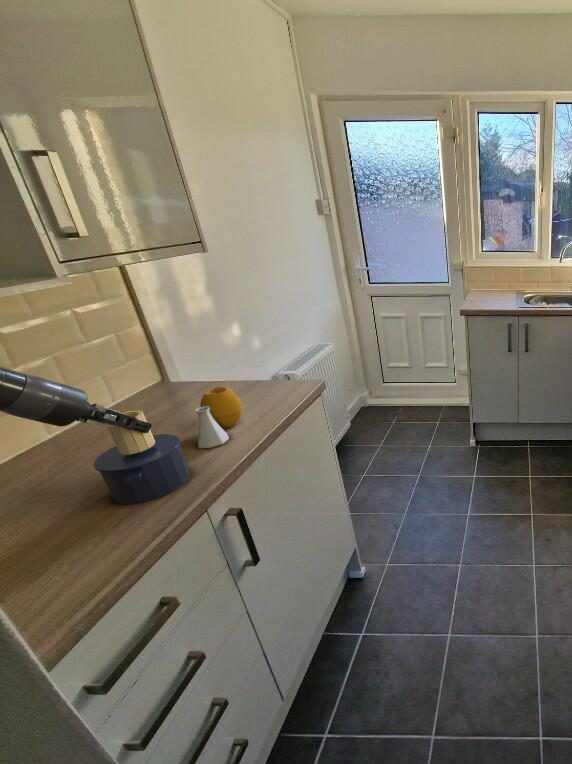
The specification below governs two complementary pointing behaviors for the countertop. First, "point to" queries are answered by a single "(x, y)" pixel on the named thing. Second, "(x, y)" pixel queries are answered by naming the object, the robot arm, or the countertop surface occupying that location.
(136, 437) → the pale yellow hollow cylinder
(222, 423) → the round orange vase
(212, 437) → the flask
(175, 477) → the pot
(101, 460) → the pot lid
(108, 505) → the countertop surface
